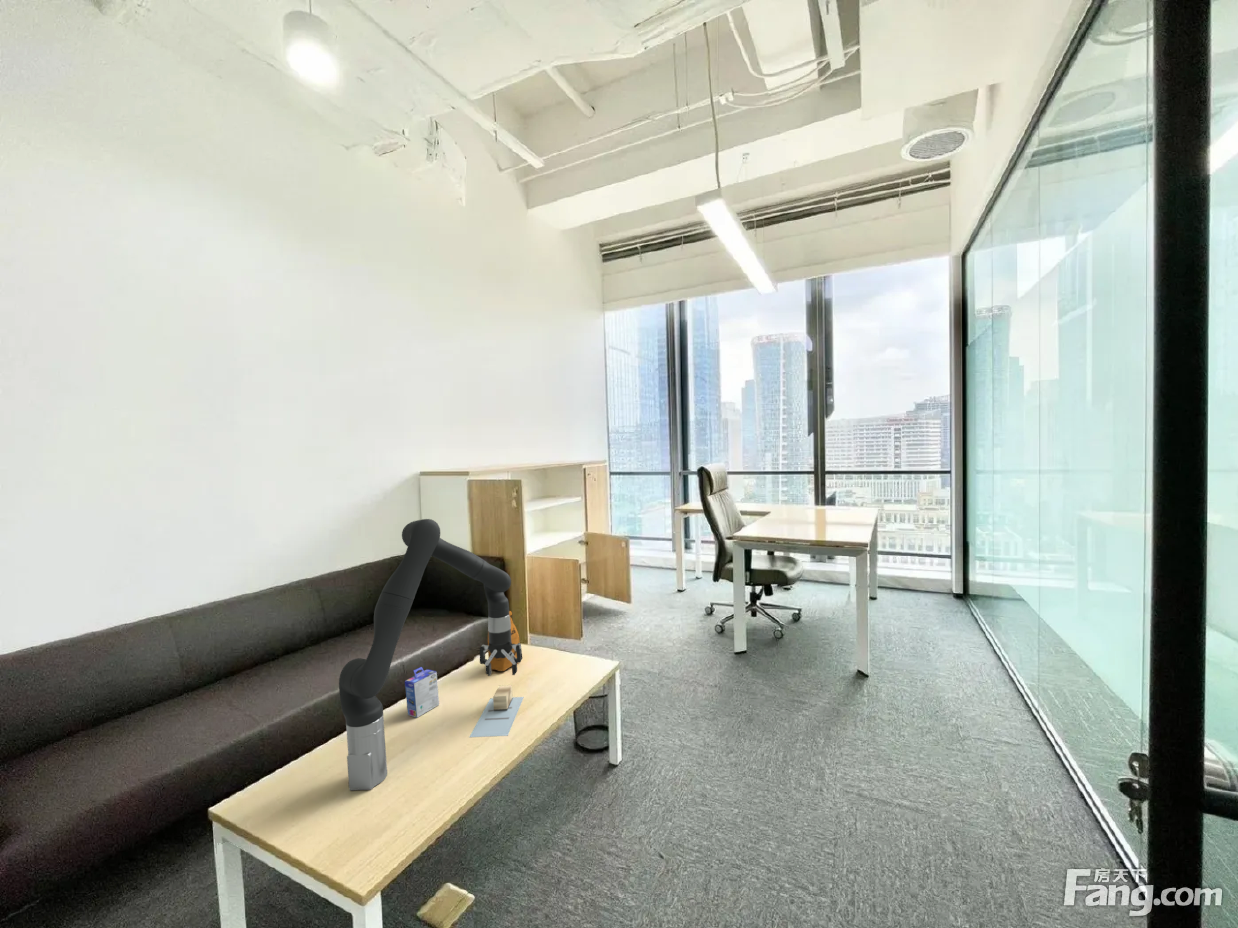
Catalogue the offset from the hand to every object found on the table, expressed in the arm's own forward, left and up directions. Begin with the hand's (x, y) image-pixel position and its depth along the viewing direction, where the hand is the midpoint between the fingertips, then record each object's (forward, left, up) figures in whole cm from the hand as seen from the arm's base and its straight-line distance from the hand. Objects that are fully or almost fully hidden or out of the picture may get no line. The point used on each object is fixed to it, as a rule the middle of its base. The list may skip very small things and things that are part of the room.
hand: (501, 674), depth 172 cm
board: (-7, 0, -12) cm, 14 cm away
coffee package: (+35, +8, -13) cm, 38 cm away
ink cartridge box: (+2, +29, -13) cm, 32 cm away
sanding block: (0, 0, -11) cm, 11 cm away
